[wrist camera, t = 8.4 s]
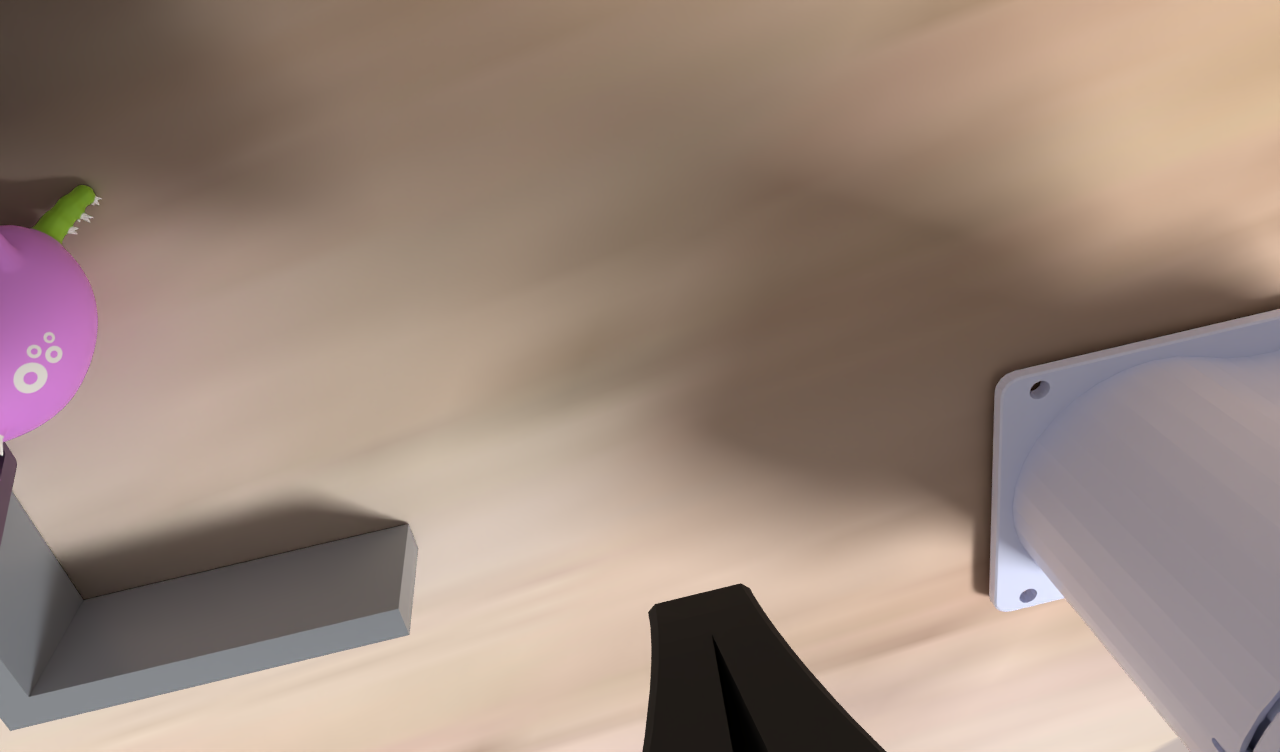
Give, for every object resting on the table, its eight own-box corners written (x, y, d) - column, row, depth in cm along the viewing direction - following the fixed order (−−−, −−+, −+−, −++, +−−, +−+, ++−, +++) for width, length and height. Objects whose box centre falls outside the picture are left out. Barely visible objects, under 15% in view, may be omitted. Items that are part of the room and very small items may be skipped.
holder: (166, -100, 15) (101, -97, 13) (418, 548, 23) (409, 634, 20) (-363, 5, 15) (-542, 30, 12) (66, 631, 22) (10, 730, 20)
